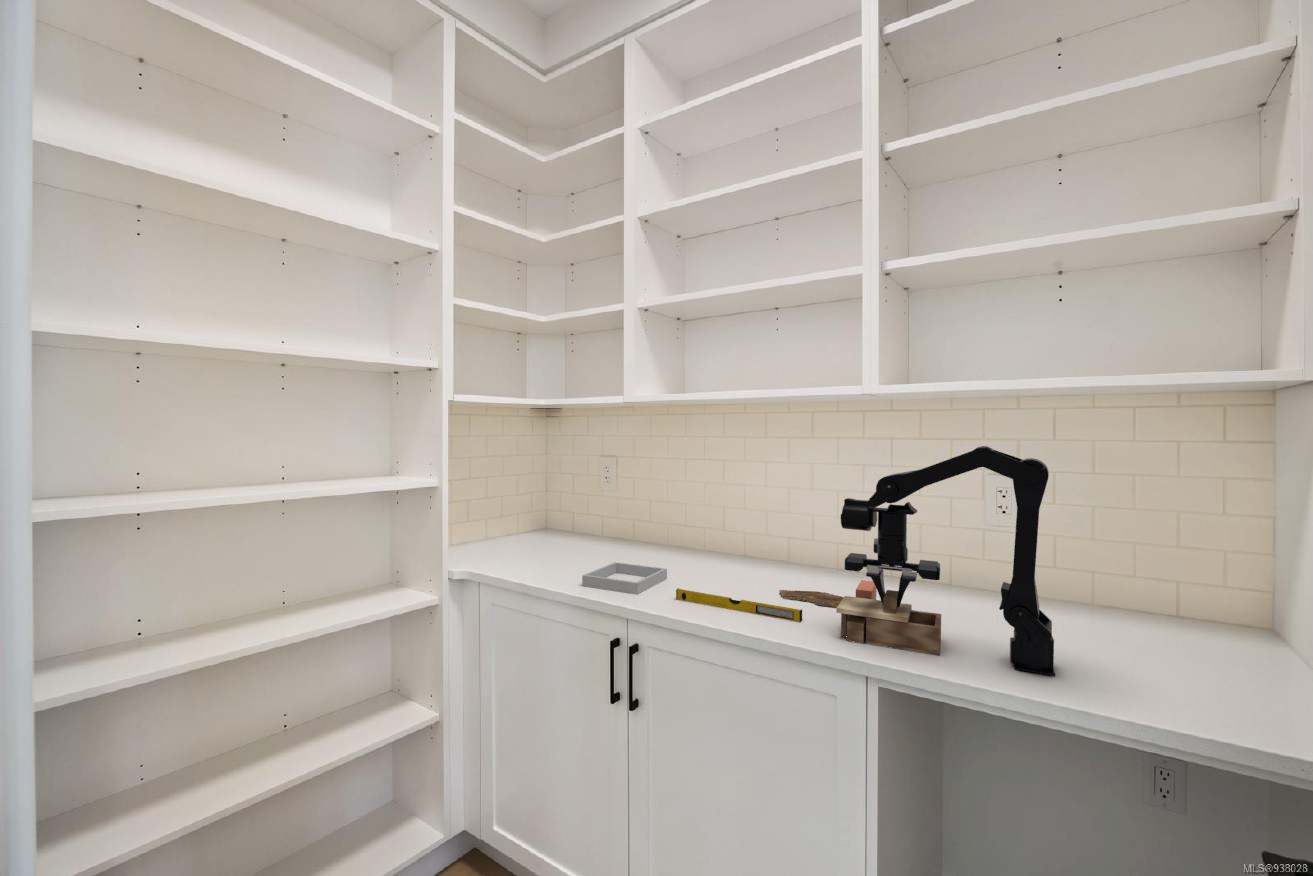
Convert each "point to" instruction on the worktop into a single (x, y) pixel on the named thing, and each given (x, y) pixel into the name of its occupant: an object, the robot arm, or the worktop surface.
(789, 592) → the wooden fragment
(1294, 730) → the worktop surface
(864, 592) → the pink rectangular block
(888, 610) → the lid
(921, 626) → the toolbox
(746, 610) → the spirit level
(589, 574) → the parts corral
